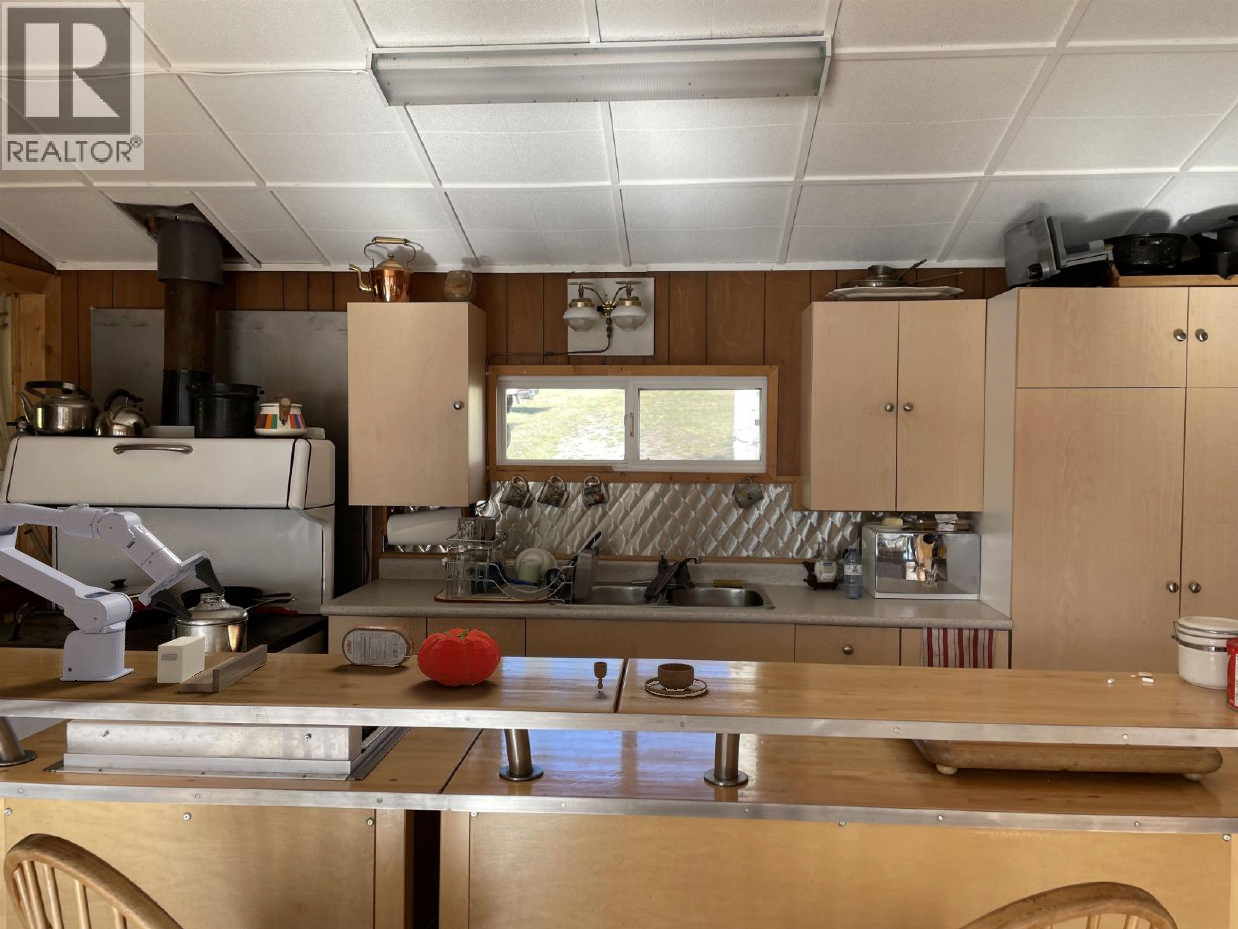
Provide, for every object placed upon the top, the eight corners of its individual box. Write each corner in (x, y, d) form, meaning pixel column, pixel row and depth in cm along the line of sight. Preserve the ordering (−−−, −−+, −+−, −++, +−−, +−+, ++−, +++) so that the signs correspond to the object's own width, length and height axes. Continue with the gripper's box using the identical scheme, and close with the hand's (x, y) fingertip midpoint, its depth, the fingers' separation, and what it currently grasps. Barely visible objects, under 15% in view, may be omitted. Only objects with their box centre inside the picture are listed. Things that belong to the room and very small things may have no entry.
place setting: (693, 708, 140) (694, 675, 141) (589, 696, 147) (589, 664, 147) (716, 685, 157) (717, 655, 157) (621, 675, 164) (621, 646, 164)
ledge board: (179, 691, 144) (179, 669, 144) (232, 663, 166) (232, 644, 166) (218, 692, 144) (219, 669, 144) (266, 664, 166) (267, 644, 166)
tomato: (441, 671, 163) (442, 622, 163) (513, 678, 157) (514, 628, 157) (400, 688, 149) (401, 634, 149) (477, 697, 144) (478, 642, 144)
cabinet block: (154, 684, 149) (156, 646, 149) (181, 671, 159) (182, 636, 159) (179, 684, 149) (180, 647, 149) (204, 671, 159) (205, 636, 159)
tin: (414, 665, 167) (415, 625, 167) (409, 669, 164) (409, 628, 164) (345, 663, 169) (346, 623, 169) (339, 666, 165) (340, 625, 166)
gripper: (123, 572, 147) (177, 621, 147) (189, 527, 157) (240, 574, 158) (119, 588, 151) (172, 636, 152) (184, 544, 162) (233, 589, 162)
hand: (206, 605), depth 155 cm, fingers open, 7 cm apart
